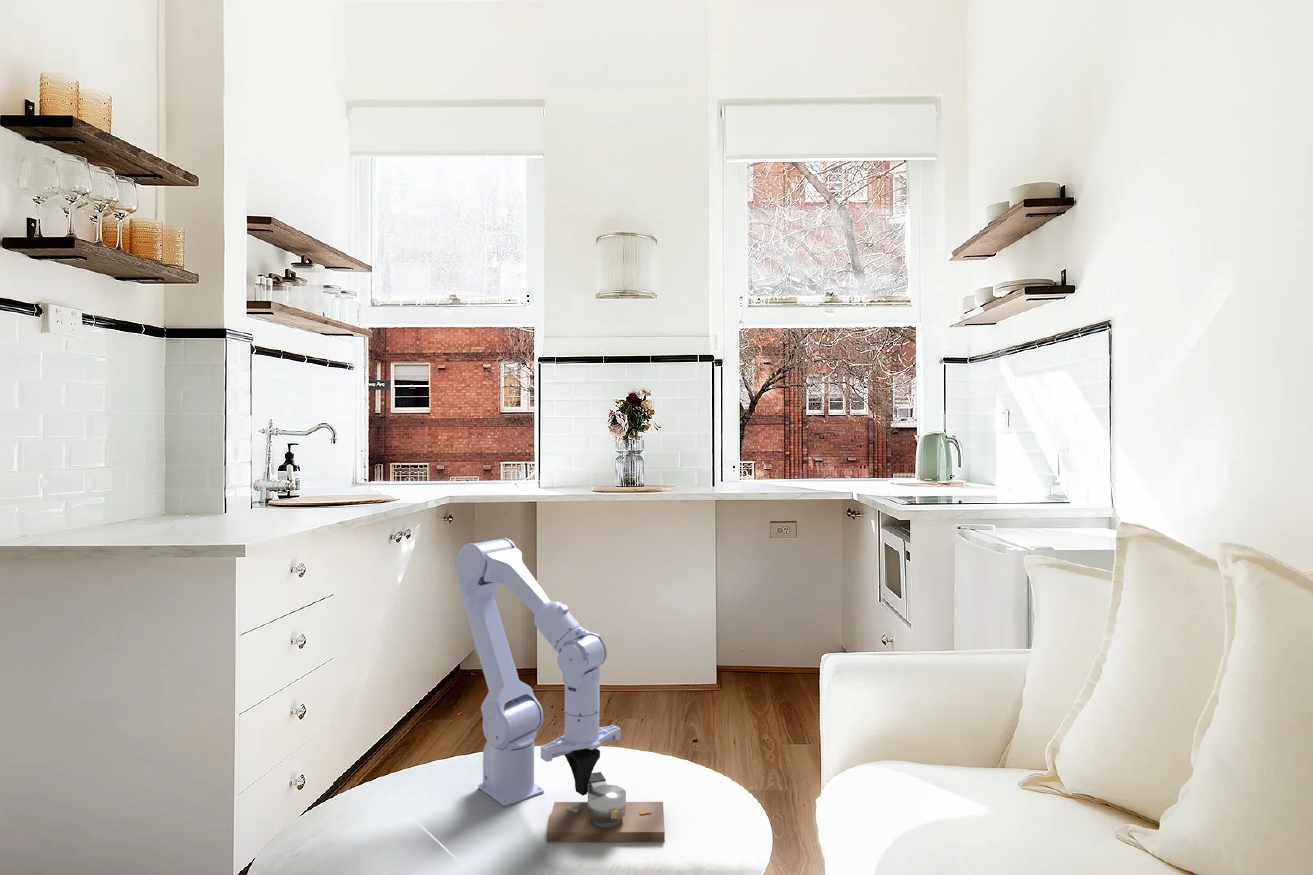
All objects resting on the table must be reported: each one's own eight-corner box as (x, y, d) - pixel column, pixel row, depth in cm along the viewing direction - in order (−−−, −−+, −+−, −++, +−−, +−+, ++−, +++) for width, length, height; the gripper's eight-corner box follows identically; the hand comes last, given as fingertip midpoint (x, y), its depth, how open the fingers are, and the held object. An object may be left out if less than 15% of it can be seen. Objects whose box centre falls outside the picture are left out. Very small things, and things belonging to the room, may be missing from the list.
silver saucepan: (632, 821, 118) (632, 802, 118) (595, 828, 116) (595, 808, 116) (610, 785, 129) (610, 768, 129) (575, 791, 127) (575, 773, 127)
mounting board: (554, 810, 126) (554, 795, 126) (663, 810, 127) (663, 795, 127) (546, 841, 117) (547, 825, 117) (664, 841, 117) (664, 825, 117)
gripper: (557, 727, 118) (556, 815, 118) (631, 707, 127) (631, 788, 127) (534, 714, 123) (533, 798, 123) (606, 695, 133) (606, 773, 133)
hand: (581, 792), depth 126 cm, fingers closed
